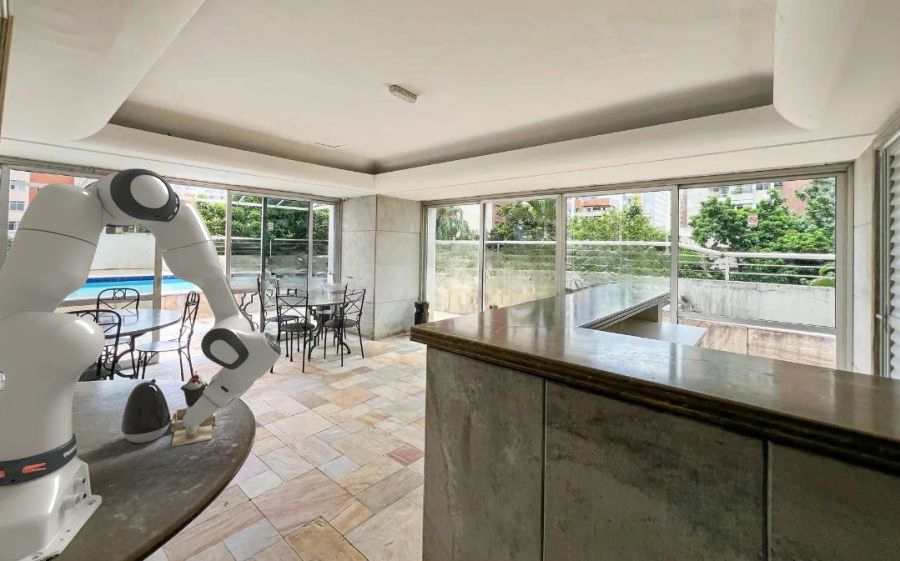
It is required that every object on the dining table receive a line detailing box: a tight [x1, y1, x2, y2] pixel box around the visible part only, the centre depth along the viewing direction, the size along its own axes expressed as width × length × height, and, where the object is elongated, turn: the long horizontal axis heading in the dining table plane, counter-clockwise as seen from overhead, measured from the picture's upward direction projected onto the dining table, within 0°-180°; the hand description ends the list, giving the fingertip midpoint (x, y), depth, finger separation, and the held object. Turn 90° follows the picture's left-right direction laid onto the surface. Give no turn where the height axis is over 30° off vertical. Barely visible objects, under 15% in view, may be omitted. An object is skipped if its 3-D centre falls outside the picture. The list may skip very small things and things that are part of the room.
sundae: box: [180, 370, 209, 407], centre depth 113 cm, size 7×7×15 cm
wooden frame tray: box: [170, 406, 216, 448], centre depth 108 cm, size 19×10×8 cm, turn 31°
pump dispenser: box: [120, 378, 172, 444], centre depth 101 cm, size 10×10×15 cm
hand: (190, 421), depth 102 cm, fingers closed on wooden frame tray, 3 cm apart
